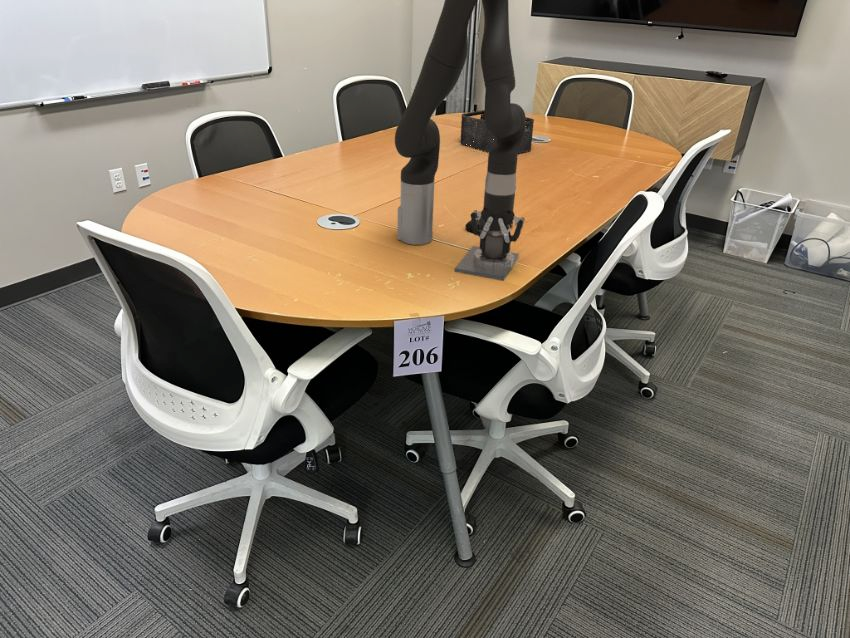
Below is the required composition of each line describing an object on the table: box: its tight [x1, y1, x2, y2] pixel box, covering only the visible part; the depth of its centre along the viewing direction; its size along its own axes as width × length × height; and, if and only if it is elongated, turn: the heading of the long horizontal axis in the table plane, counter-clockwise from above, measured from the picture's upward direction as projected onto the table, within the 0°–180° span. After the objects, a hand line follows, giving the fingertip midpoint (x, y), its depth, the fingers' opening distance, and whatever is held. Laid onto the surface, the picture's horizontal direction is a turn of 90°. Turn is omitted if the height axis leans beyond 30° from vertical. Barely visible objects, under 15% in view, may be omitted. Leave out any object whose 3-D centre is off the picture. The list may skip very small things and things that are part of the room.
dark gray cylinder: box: [484, 230, 505, 260], centre depth 158 cm, size 5×5×6 cm
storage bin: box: [459, 109, 535, 154], centre depth 266 cm, size 29×19×13 cm
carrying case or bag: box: [464, 216, 514, 233], centre depth 184 cm, size 11×3×15 cm
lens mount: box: [454, 245, 520, 282], centre depth 161 cm, size 13×16×3 cm
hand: (494, 252), depth 159 cm, fingers closed on dark gray cylinder, 5 cm apart
